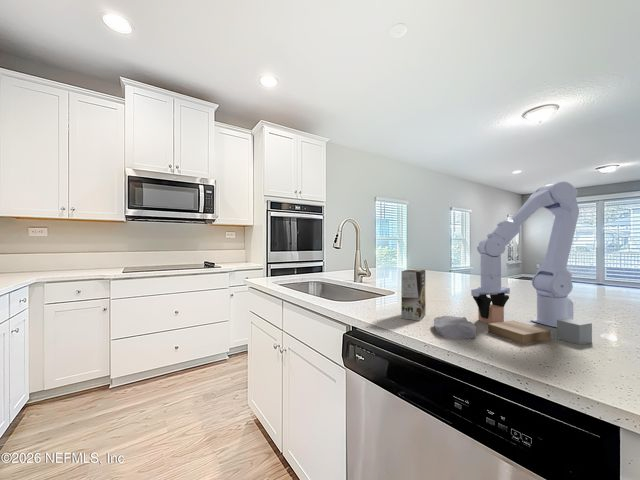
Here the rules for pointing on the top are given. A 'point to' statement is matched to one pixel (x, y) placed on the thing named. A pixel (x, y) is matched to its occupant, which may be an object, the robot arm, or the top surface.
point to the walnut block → (519, 332)
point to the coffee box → (413, 295)
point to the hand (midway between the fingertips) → (490, 317)
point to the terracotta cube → (493, 314)
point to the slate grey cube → (574, 331)
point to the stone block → (455, 327)
